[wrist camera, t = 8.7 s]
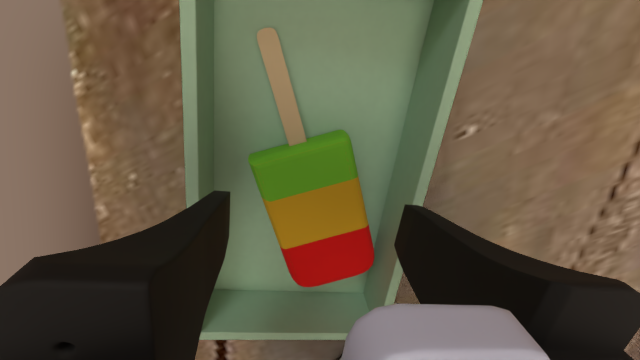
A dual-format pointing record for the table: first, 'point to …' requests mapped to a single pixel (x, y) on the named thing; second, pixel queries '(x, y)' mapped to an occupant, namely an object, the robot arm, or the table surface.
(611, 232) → the table surface
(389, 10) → the tote
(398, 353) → the robot arm
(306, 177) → the popsicle
